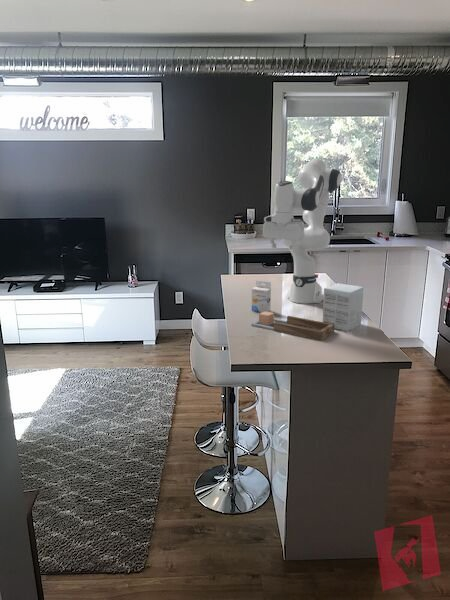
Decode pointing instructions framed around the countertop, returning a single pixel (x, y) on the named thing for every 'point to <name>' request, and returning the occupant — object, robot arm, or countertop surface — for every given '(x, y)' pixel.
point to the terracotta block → (266, 318)
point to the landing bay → (268, 326)
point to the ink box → (261, 297)
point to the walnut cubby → (305, 332)
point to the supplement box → (343, 306)
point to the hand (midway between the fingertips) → (282, 248)
